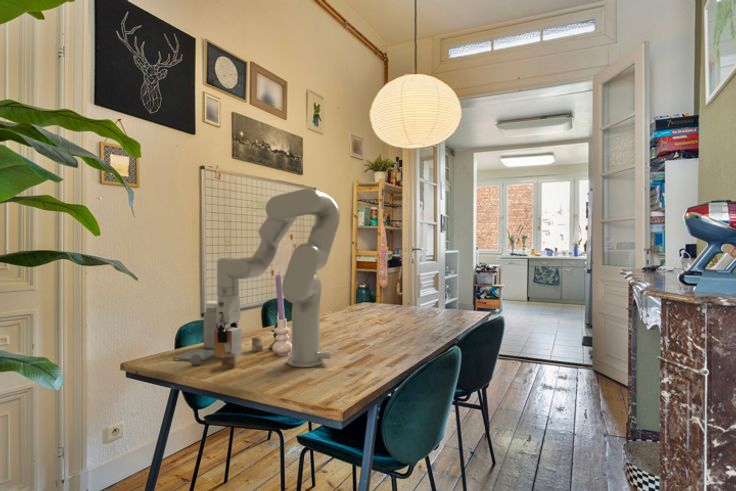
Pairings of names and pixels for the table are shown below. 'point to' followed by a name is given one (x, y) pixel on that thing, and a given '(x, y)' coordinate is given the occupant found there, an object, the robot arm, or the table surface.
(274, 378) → the table surface
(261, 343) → the cork cylinder
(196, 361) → the grey rubber ball
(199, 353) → the slate trivet
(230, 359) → the walnut block
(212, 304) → the jar
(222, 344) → the small box
